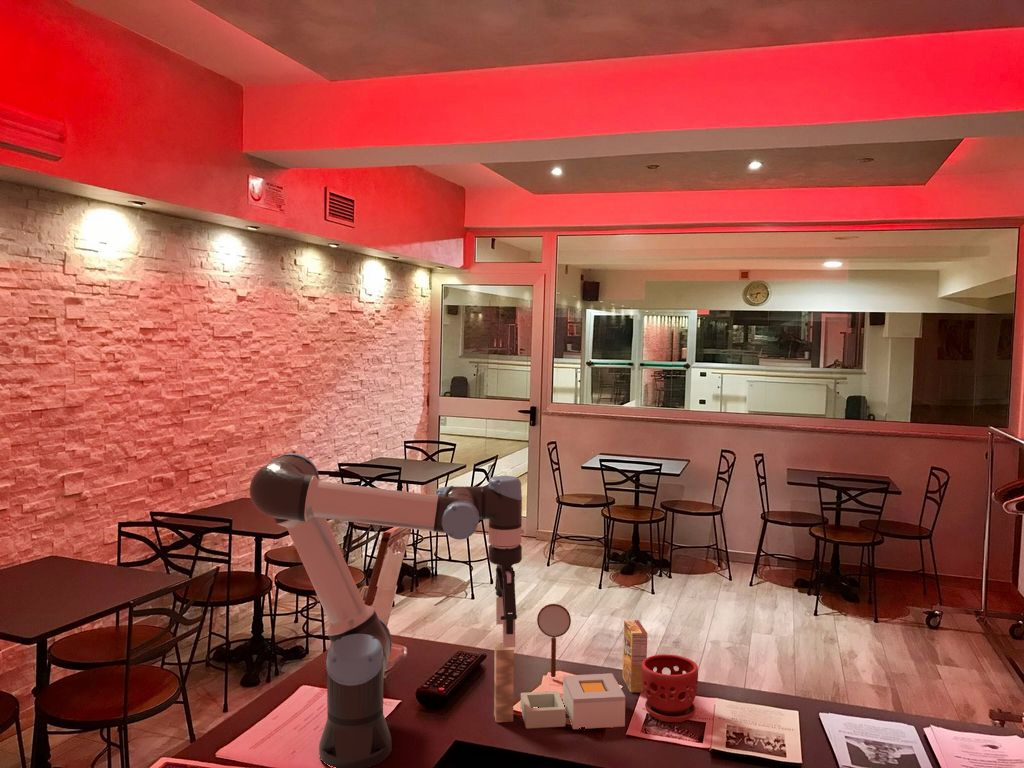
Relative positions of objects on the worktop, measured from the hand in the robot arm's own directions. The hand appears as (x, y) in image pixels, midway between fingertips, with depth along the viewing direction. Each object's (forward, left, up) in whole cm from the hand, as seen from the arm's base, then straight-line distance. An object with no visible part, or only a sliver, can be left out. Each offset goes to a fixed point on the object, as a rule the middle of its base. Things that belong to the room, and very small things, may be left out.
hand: (505, 634), depth 180 cm
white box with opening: (+21, -1, -20) cm, 29 cm away
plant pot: (+39, -2, -20) cm, 44 cm away
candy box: (+35, +13, -20) cm, 42 cm away
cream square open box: (+9, -1, -20) cm, 22 cm away
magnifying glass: (+15, +18, -20) cm, 31 cm away
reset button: (+21, -1, -16) cm, 26 cm away
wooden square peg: (0, 0, -20) cm, 20 cm away
